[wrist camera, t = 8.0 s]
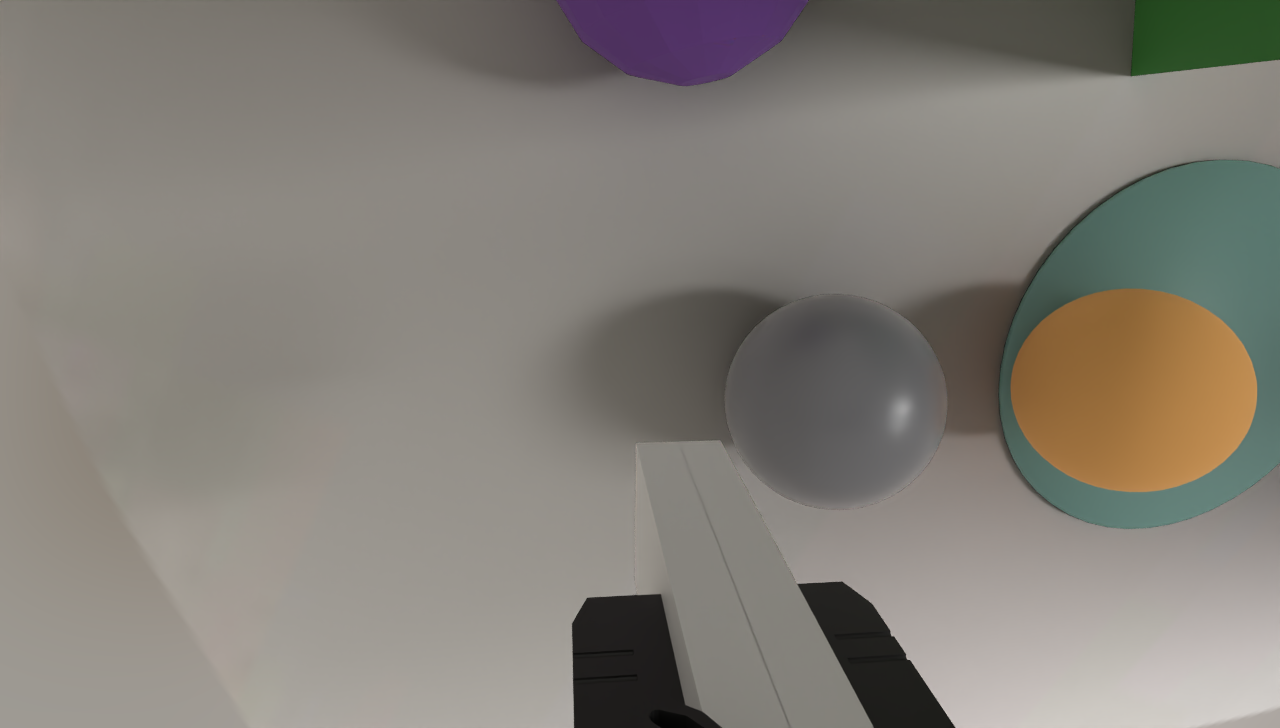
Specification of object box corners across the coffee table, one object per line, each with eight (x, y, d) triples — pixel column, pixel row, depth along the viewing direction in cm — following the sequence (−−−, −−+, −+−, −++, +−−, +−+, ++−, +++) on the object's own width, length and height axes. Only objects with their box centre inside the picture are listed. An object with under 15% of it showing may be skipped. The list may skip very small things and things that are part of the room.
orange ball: (1014, 296, 23) (1223, 315, 21) (990, 465, 23) (1198, 500, 21) (1037, 261, 18) (1316, 280, 16) (1007, 477, 18) (1283, 525, 16)
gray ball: (664, 345, 17) (741, 302, 22) (726, 554, 18) (787, 469, 23) (900, 292, 14) (930, 256, 19) (962, 543, 15) (976, 448, 20)
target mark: (1423, 241, 23) (1430, 242, 22) (1217, 562, 25) (1222, 565, 25) (1126, 95, 20) (1131, 95, 20) (933, 471, 23) (937, 474, 23)
